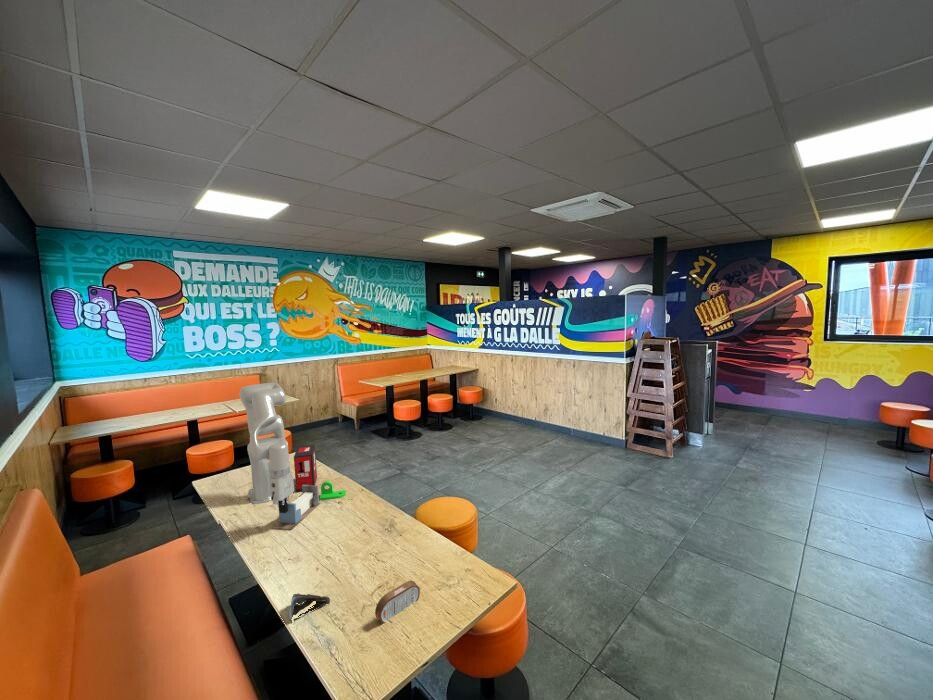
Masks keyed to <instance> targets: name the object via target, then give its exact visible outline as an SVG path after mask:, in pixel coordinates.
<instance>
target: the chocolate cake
mask: <svg viewBox="0 0 933 700" xmlns="http://www.w3.org/2000/svg"><path fill="white" fill-rule="evenodd" d="M306 600H307V601H309V602H312V601H316V604H315V605H313V606H314V607H313V606H312V607H313V608H311V607H310V608H311V609H308V611H306V612H305V613H302V614H306V613H308V612H309V611H312V610H314V609H316V608H318V607H320V608H322V607H324V606H326V605H325V604H329V605H330V602H331V599H330V597H329V596H325V595H322V596H320V595H316V594H310V593H307V594H302V593H299V592H297V593H294V594H293V595H292V597H291V601H290V606H289V611H288V614H289V619H292V617H293V614H294V609H295V608H294V606H295V604H296V603H298V604H302V603H303V602H306V603H307V601H306ZM302 605H303V604H302ZM323 605H324V606H323ZM321 606H322V607H321ZM295 607H296V606H295ZM318 609H319V608H318ZM316 610H317V609H316ZM314 611H315V610H314ZM312 612H313V611H312ZM302 614H300V615H299V616H301V615H302ZM308 614H309V613H308ZM306 615H307V614H306ZM299 616H298V617H299Z"/></svg>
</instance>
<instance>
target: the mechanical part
mask: <svg viewBox="0 0 933 700" xmlns="http://www.w3.org/2000/svg"><path fill="white" fill-rule="evenodd" d="M326 486H327V487H328V488H325V487H326ZM346 494H347V489H345V490H344V489H343V490H334V486H333V482H332V481H330V480H325V481H323V482H322V484H321V485H320V495H319V501H326V500H327V501H328V500H335V499H342V498H344V497H345V496H346Z"/></svg>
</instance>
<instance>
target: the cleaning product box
mask: <svg viewBox="0 0 933 700" xmlns="http://www.w3.org/2000/svg"><path fill="white" fill-rule="evenodd" d="M293 464H294V476H295V477H294V479H295V491H296V492H295V493H301V492H302V485H316V484H317V480H318V473H317V472H318V471H317V458H316V444H314V443H313V444H308V445H307V444H306V445H298V446H297V447H296V451H295V452H294V455H293ZM302 493H303V492H302Z"/></svg>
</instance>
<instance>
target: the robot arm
mask: <svg viewBox="0 0 933 700" xmlns="http://www.w3.org/2000/svg"><path fill="white" fill-rule="evenodd" d="M239 398H240V401H241V403H242V405H243V407H244V409H245V412H246V418H247V419H246V421H247V426H248V434H249V443H248V444H247V449H246V450H247V454H248V457H249V461H250V469H251V470H250V472H251V483H252V488H250V489H248V492H247V495H248V496H251V497H250V499H249V500H250V503H251V504H255V505H258V504H259V505H260V504H265V503H268V502H272V505H277V506H278V505H279V507H278V513H279V512H280V513H286V512H288V503H289V498H290V496H291V495H292V494H293V493H294V492H295V482H294V477H293V474H292V471H291V467H290V455H289V443H288V440H286V434H285V433H286V432H285V425H284V424H285V423H284V420H283V418H282V416H281V415H280V414H277V412H276V409H275V406H280V405H284V404H285V403H286V401H287V397H286V393H285V390H284V389H283V388H282V387H281V385H279V383H277V382H265V383H255V384H251V385H245V386H242V387H241V388H240V390H239ZM272 434H273V435H272ZM268 435H272V436H268ZM261 436H266V437H262V438H258V437H261ZM267 436H268V437H267Z"/></svg>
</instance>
